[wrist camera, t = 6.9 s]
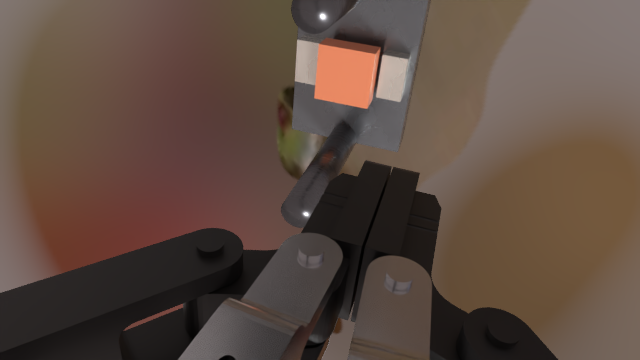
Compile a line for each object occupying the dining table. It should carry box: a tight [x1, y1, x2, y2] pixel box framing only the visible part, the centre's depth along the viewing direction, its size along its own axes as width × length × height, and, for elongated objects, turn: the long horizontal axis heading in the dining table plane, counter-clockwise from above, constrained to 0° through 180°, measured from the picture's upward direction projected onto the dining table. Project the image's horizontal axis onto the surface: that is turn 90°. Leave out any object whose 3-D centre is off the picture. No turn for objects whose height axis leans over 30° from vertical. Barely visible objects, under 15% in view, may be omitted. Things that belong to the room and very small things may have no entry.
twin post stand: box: [281, 0, 431, 228], centre depth 34 cm, size 16×10×15 cm, turn 175°
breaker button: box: [314, 38, 381, 109], centre depth 38 cm, size 4×4×4 cm
